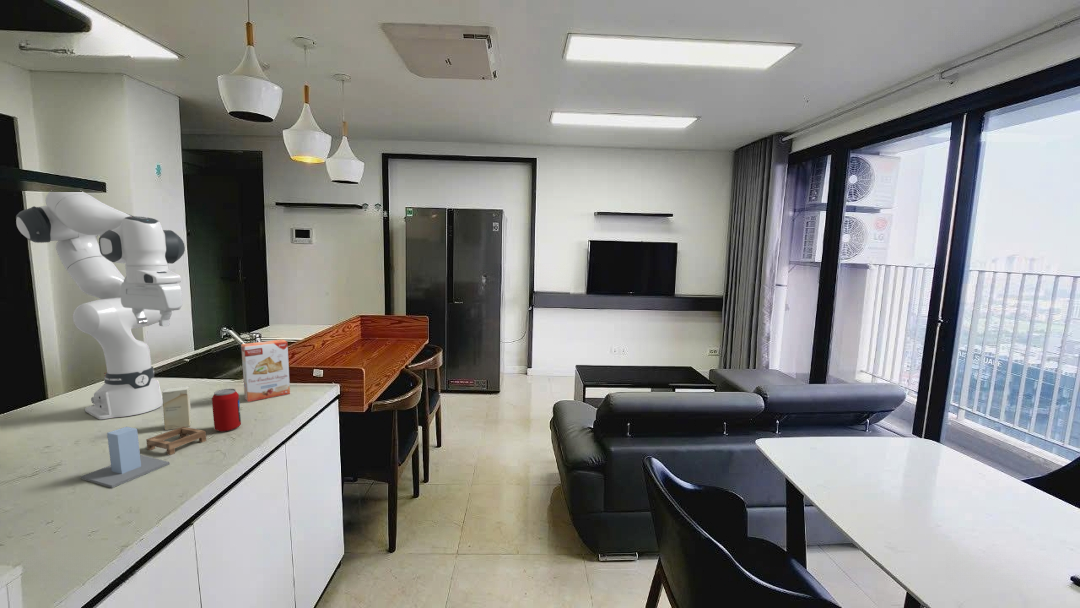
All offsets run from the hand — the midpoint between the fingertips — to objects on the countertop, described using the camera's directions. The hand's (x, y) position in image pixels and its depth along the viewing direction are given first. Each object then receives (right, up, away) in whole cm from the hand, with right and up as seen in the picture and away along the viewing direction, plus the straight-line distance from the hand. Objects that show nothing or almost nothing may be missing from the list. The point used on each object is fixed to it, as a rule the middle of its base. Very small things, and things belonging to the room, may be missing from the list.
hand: (153, 324), depth 122 cm
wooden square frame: (+6, -34, +1) cm, 35 cm away
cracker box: (+6, -29, +42) cm, 52 cm away
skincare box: (-4, -33, +14) cm, 36 cm away
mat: (+5, -36, -13) cm, 39 cm away
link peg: (+5, -36, -13) cm, 38 cm away
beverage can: (+12, -33, +13) cm, 38 cm away
